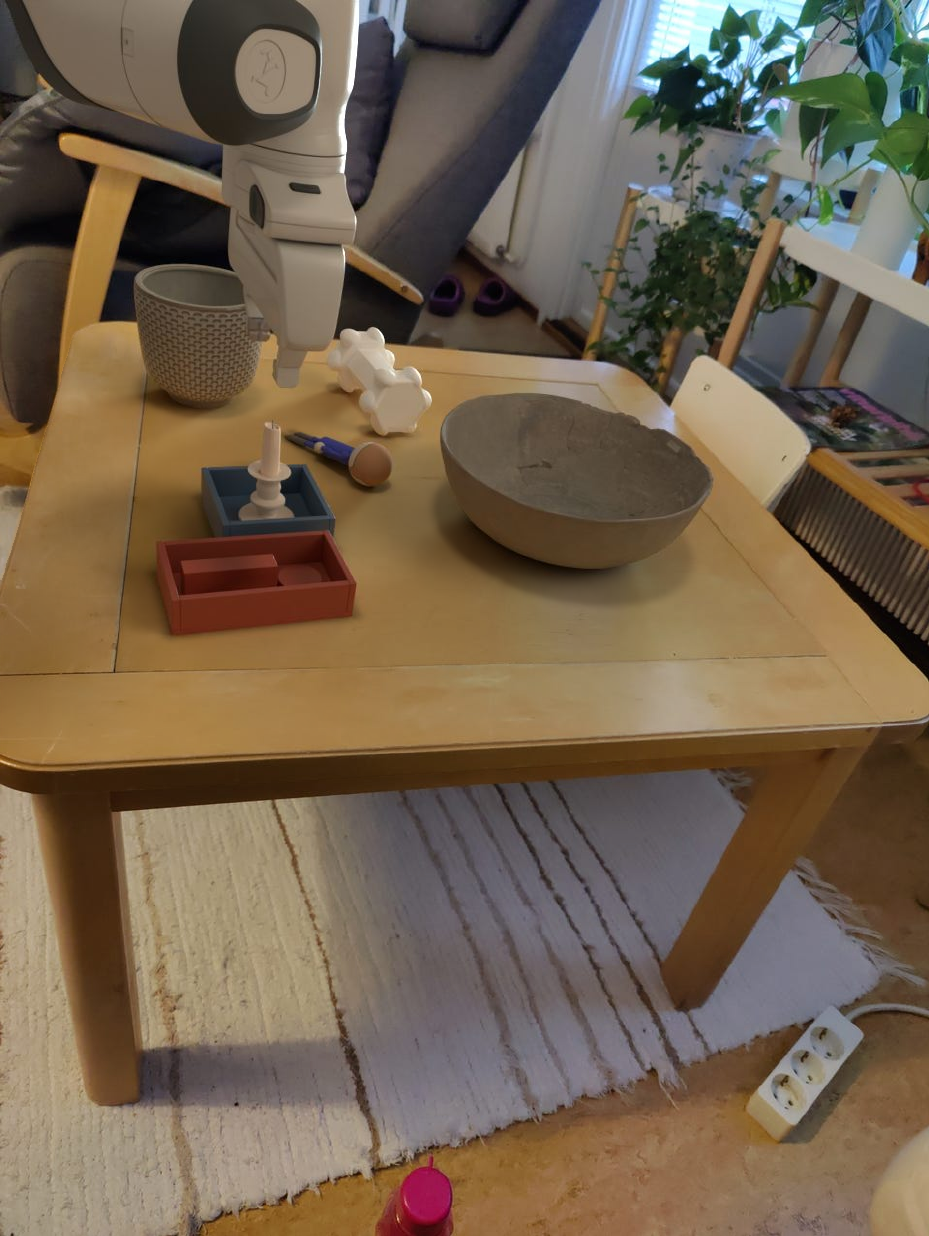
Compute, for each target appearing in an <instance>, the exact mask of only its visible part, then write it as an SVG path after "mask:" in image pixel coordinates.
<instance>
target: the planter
mask: <svg viewBox="0 0 929 1236" xmlns="http://www.w3.org/2000/svg"><path fill="white" fill-rule="evenodd" d="M133 297H134V307H135V308H134V309H135V316H136V317H135V318H136V326H137V333H138V341H139V346H140V347H139V348H140V352H141V357H142V361H143V365H144V368H145V370H146V372H147V374H148V376H149V378H150V379H151V381H153V382H154V383H155V384H156V386H158V387H160V388H161V389H162V390H163V391H164V392H167V393H168V395H169V397H170V398H171V399H172V400H173V401H175V402H176V403H177V404H180V405H182V406H185V407H188V408H192V409H199V410H213V409H220V408H223V407H226V406H227V405H229V404H230V403H231V402H232V401H233V400H234V398H235V397H237V396H239V395H241V394H242V393H245V391H246V390H248V388H249V387H250V386H251V385H252V383H253V381H254V380H255V377H256V376H257V373H258V368H259V364H260V359H261V353H262V347H263V342H261V341H252V340H251V338H250V337H249V335H248V334H247V332H246V318H247V314H246V308H245V301H244V293H243V284H242V282H241V281H240V279H239V278H238V276H237V275H236V273H235V271H232V270H228V269H224V268H220V267H215V266H209V265H203V264H202V265H201V264H189V263H170V264H160V265H155V266H150V267H147V268H144V269H142V270H140V271H139V272H138V273H137V274H136V275H135V276H134V280H133Z"/></svg>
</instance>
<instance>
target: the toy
mask: <svg viewBox="0 0 929 1236" xmlns="http://www.w3.org/2000/svg"><path fill="white" fill-rule="evenodd" d="M284 437H285V439H287V440H288V441H289V442H292V443H295V444H297V445H300V446H303V447H305V448H306V447H307V448H310V449H312V450H314V451H315V452H316V453H317V454H319V455H322V456H324V457H326V458H328V459H330V460H333V461H335V462H337V463H340V464H343V465H346V466H348V469H349V473H350V475H351V476H352V478H353V479H354V480H355V481H356V482H357V483H358V484H360V485H362V486H365V487H377V486H380V485H382V484H384V483H385V482H386V481H387V480H389V477H390V476H391V475H392V471H393V465H394V463H393V462H394V461H393V457H392V456H391V453H390V452H389V450H388V449H387V448H386V447H385V446H383V445H382V444H380V443H378V442H374V441H368V442H363V443H360V444H359V445H357V446H356V447H353V446H351V445H349V444H346V443H344V442H341V441H339V440H336V439H333V438H331V437H328V436H322V437H321V438H320V437H317V436H314V435H313V436H312V435H309V434H306V433H304V432H301V431H298V432H293V434H285V435H284Z"/></svg>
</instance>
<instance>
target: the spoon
mask: <svg viewBox="0 0 929 1236" xmlns="http://www.w3.org/2000/svg"><path fill="white" fill-rule="evenodd" d="M277 569H278V566H277V563H276V561H275V559H274V556H273V554H267V555H254V556H240V557H226V558H213V559H199V560H185V561H180V575H181V595H192V594H203V593H214V592H225V591H236V590H247V589H258V588H268V587H276V583H277V587H279V586H290V585H301V584H312V583H322V576H321V574H320V573H319V572H318V571H317V570H316V569H314V568H312V567H309V566H306V565H289V566H286V567H284V568H282V569H281V570H280V571H279V573H278V576H277Z"/></svg>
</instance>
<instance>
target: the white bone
mask: <svg viewBox="0 0 929 1236" xmlns="http://www.w3.org/2000/svg"><path fill="white" fill-rule="evenodd" d="M395 360H396V359H395V355H394V354H393V352H392V351H390V350H389V349H386V348H385V338H384V335H383V333H382V332H381V331H380V330H379V329H378V328H377V327H374V326H371V327H369V328H368V329H367V330H366V331H364V330H363V331H361V330H359V331H357V330H355V329H352V328H345V329H342V330H341V331H340V334H339V341H338V343H337V344H336V346H335V347H334V348H333V349H332V350H331V351H329V353H328V354H327V356H326V360H325V361H326V365H327V367H328V369H330V370H331V371H333V372H336V373H337V377H336V378H337V383H338V385H339V386H340V388H341V389H342V391H344V392H346V393H353V392H354V391H355V390H360V391H361V392H362V393H361V394H360V396H359V399H358V406H359V408H360V410H361V411H363V412H364V413H365V414H369V415H370V418H369V422H370V426H371V428H372V429H373V431H375V433H376V434H378V435H379V436H383V437H384V436H387V435H388V434H389V433H400V432H401V433H406V434H409V433H413V432H414V431H416V429H417V422H419V420H420V419H421V417H422V416H423V414H424V413H425V412H426V411H427V410H429V409H430V407H431V405H432V402H433V401H432V396H431V394H430V392H429V391H427V390H426V389H424V388H423V387H422V384H423V380H422V376H421V374H420V373H419V371H418V370H417V369H416V368H415V367H413V366H412V365H407V366H404V367H403V369H395V368H394V367H393V366H394V364H395Z"/></svg>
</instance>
